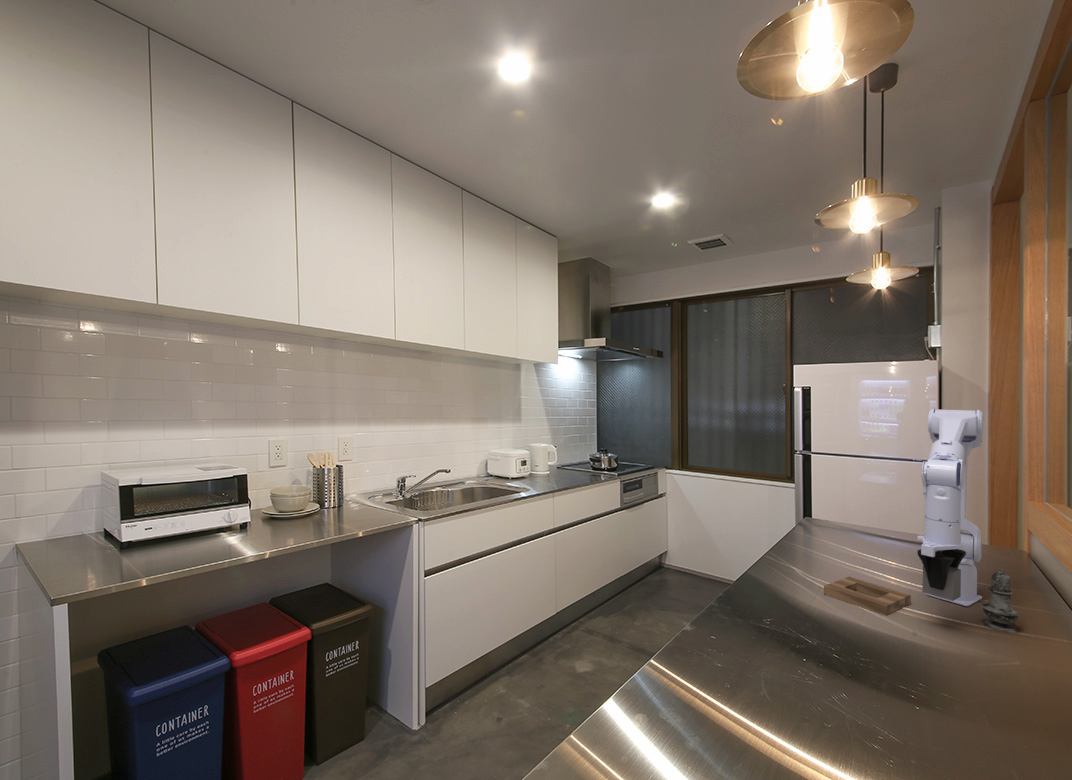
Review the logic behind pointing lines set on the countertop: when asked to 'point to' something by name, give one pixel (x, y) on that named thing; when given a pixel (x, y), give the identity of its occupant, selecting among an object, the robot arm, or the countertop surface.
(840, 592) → the socket frame
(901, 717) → the countertop surface
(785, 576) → the countertop surface
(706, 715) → the countertop surface
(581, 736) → the countertop surface
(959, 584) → the plug
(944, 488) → the robot arm
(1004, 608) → the weathered stone finial
